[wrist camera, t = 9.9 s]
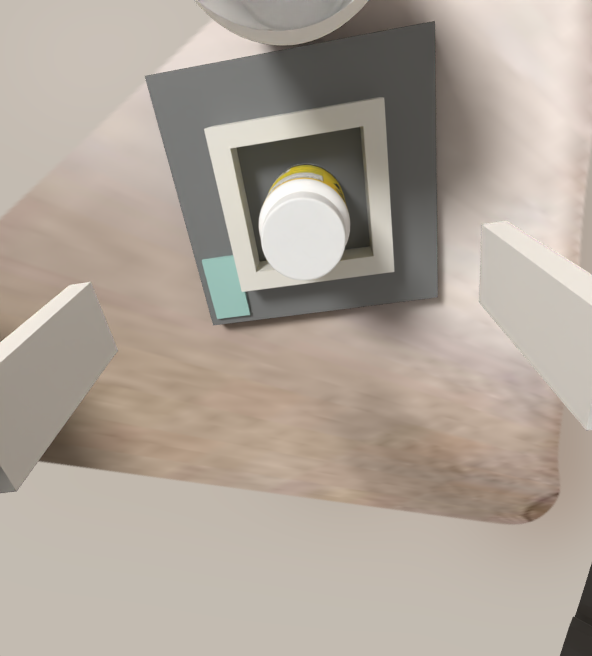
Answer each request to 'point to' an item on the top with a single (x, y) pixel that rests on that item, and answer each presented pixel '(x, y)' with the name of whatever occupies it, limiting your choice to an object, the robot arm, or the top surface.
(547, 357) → the robot arm
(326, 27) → the cup
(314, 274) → the supplement bottle
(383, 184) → the dock
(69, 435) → the top surface
